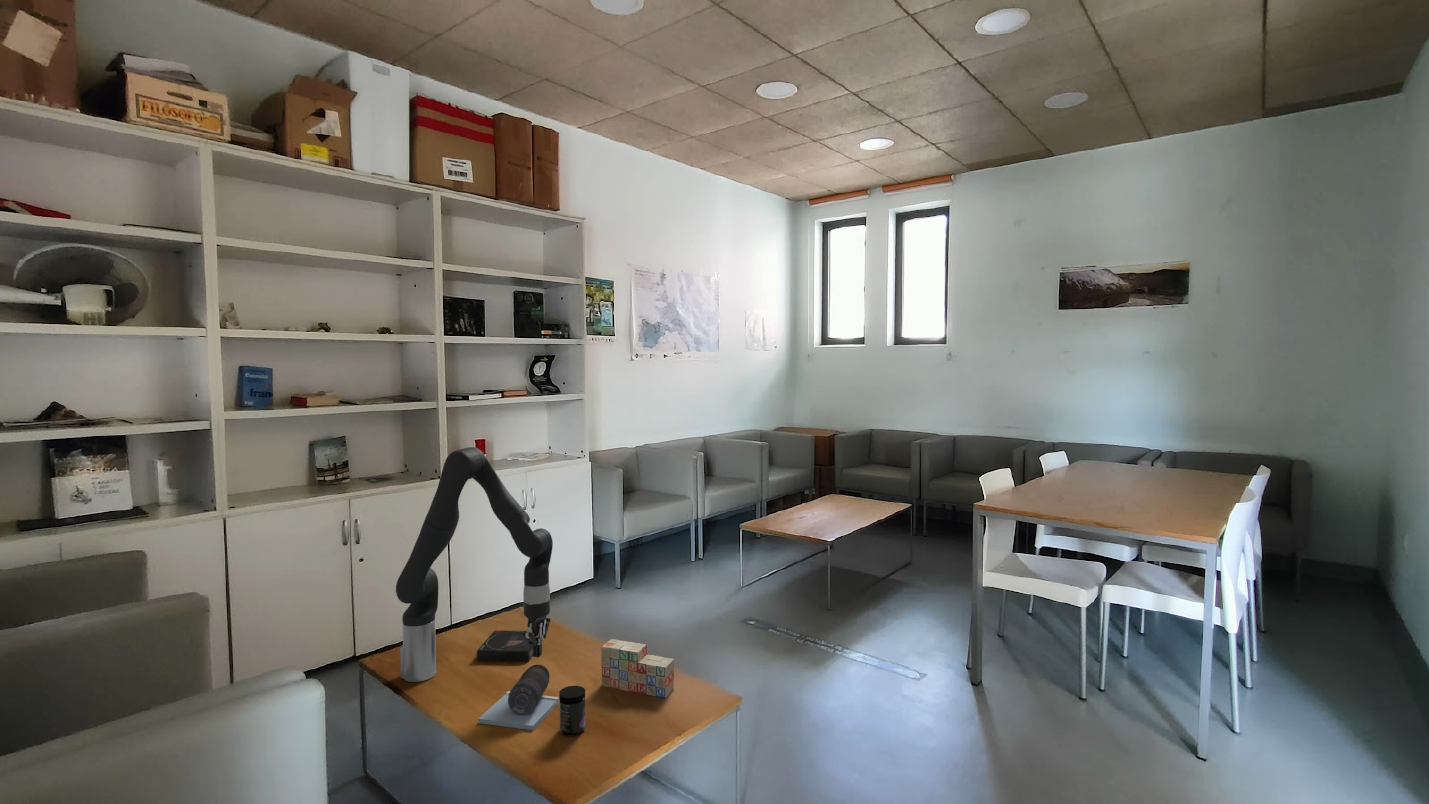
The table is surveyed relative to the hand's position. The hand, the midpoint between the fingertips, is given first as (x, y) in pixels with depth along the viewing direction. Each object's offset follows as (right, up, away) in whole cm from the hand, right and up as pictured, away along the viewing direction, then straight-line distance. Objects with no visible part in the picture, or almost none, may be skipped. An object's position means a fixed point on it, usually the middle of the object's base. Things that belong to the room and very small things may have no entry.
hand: (537, 656), depth 197 cm
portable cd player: (-16, -10, +29) cm, 34 cm away
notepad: (-2, -11, -12) cm, 16 cm away
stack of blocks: (+29, -11, +3) cm, 31 cm away
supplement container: (+15, -12, -20) cm, 28 cm away
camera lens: (+1, -5, -1) cm, 5 cm away
